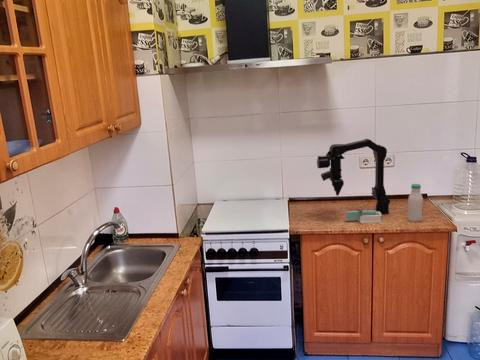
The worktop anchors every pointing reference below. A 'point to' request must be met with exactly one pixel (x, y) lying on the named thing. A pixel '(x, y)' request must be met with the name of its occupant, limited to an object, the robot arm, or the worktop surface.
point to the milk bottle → (415, 204)
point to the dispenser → (370, 217)
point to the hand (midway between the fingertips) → (336, 193)
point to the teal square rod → (358, 214)
